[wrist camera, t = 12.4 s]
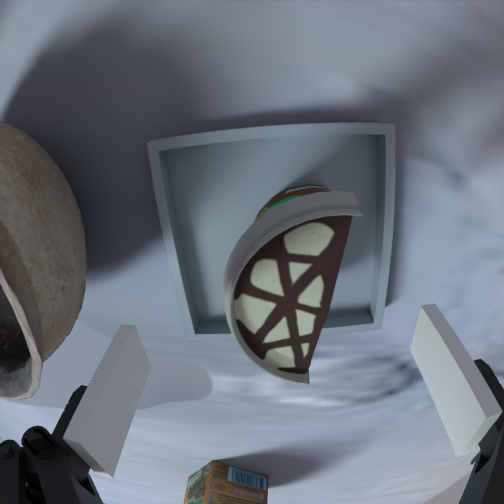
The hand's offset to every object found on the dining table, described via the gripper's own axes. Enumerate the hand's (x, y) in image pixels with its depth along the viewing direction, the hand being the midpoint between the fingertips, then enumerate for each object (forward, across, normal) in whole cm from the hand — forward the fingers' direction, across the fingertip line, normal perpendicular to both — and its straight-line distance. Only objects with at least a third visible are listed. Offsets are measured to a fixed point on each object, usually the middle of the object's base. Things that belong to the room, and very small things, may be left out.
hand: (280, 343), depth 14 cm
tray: (+14, 0, 0) cm, 14 cm away
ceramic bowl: (+14, -24, +4) cm, 28 cm away
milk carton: (+14, -10, -45) cm, 48 cm away
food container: (+13, 0, 0) cm, 13 cm away
